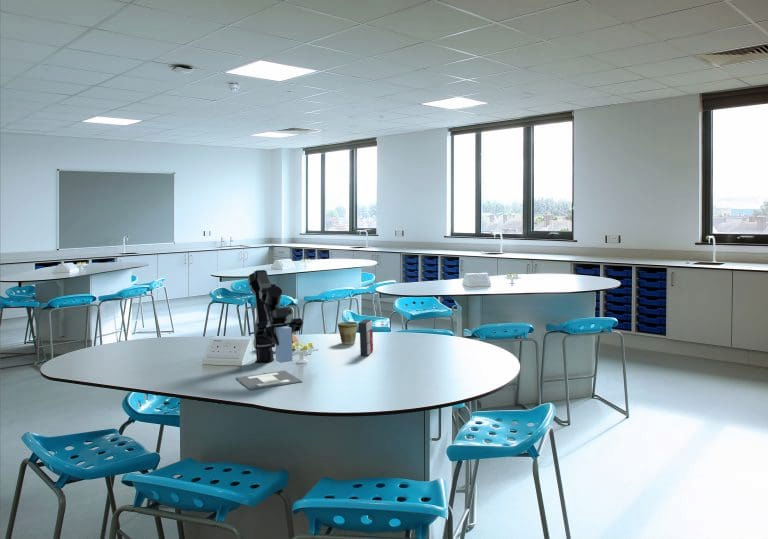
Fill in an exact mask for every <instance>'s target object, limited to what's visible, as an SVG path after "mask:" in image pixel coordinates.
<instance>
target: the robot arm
mask: <svg viewBox="0 0 768 539" xmlns="http://www.w3.org/2000/svg"><path fill="white" fill-rule="evenodd" d="M267 272H268V271H267V270H266V269H258V270H254V271H253V272H252V273H251V274H249V275H248V277H247V285H248V286H249V291H250V292H251V293H252V294H253V295H254V302H255V310H256V311H255V313H256V320H257V322H256V323H255V327H254V329H253V334H254V337H253V343H252V344H253V349H254V350H255V352H256V360H255V361H254V363H260V362H262V363H263V364H264V363H265V364H268V363H270V362H273V361H274V360H275V358H274V350H273V348H275V344H276V345H277V346H278V345H279V343H278V339H277V337H276V335H275V332H274V330H275V327H283V326H288V327H290V328H292V333H293V334H294V332H300V331H301V329H302V327H303V324H304V321H303V319H302V318H301V317H297V318H291V320H290V322H287V320H288V319H287V317H289V316H290V315H292V313H293V311H292V307H291V306H290V305H287V306H284V307H280V303H281V299H282V296H283V290H282V288H281V287H279V286H277V285H276V283H271V281H270V279H269V274H268V273H267Z"/></svg>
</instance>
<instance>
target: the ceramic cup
mask: <svg viewBox="0 0 768 539" xmlns="http://www.w3.org/2000/svg"><path fill="white" fill-rule="evenodd" d="M358 323H359V322H357V321H342V322H338V323H337V327H338V333H339V336H340V337H339V338H340V340H341V341H340V342H341V344H342V345H354V344H356V337H357V336H356V335H357V331H358Z"/></svg>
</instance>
